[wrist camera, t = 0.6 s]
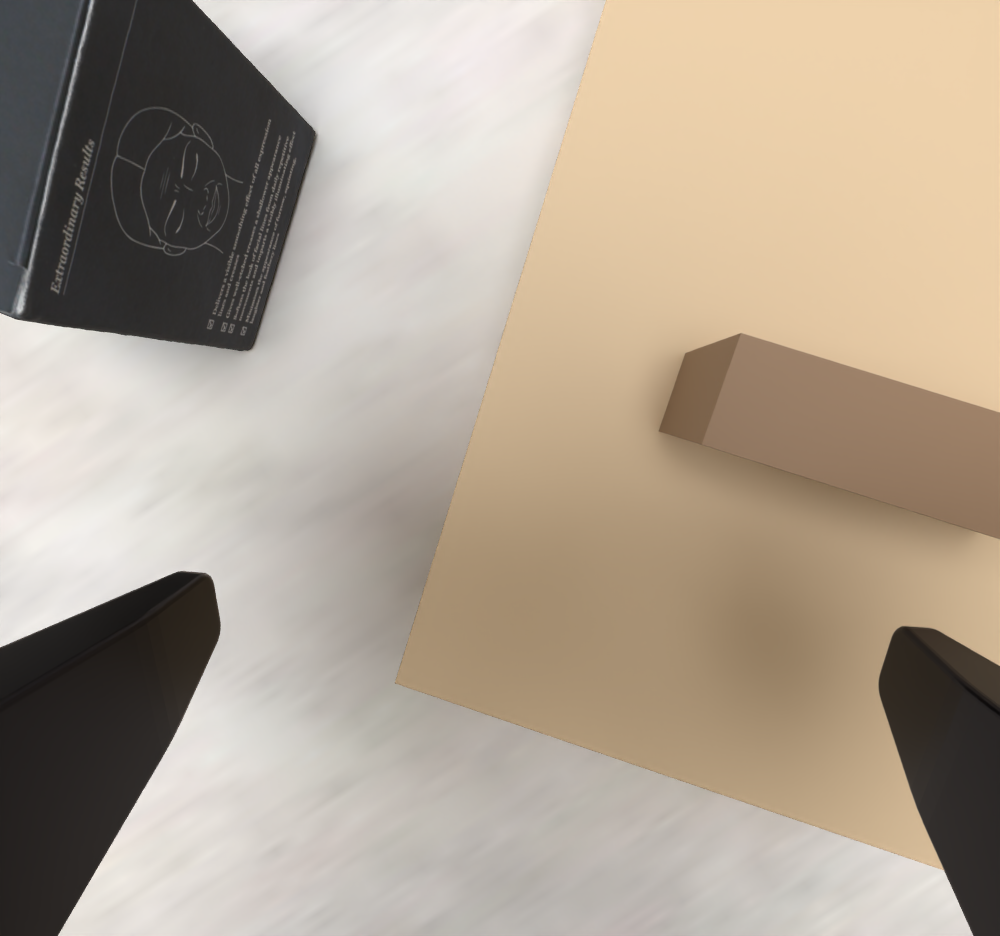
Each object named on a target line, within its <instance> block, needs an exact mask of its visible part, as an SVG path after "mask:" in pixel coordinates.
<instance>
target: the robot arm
mask: <svg viewBox="0 0 1000 936" xmlns="http://www.w3.org/2000/svg"><path fill="white" fill-rule="evenodd" d="M220 627H221V624H220V617H219V611H218V605H217V599H216V593H215V587H214V583H213V580H212V578H211V577H210V576H209V575H208V574H207V573H199V572H186V571H180V572H176V573H173V574H171V575H168V576H166V577H164V578H161V579H159V580H157V581H154V582H152V583H150V584H147V585H145V586H143V587H140V588H138V589H136V590H133V591H131V592H129V593H126V594H124V595H122V596H119V597H117V598H115V599H112V600H110V601H108V602H105V603H103V604H101V605H98V606H96V607H94V608H91V609H89V610H87V611H84V612H82V613H80V614H77V615H75V616H73V617H70V618H68V619H66V620H63V621H61V622H59V623H56V624H54V625H52V626H49V627H47V628H45V629H42V630H40V631H38V632H35V633H33V634H31V635H28V636H26V637H24V638H21V639H19V640H17V641H14V642H12V643H10V644H7V645H5V646H3V647H0V936H58V934H59V933H60V931H61V929H62V928H63V926H64V924H65V922H66V921H67V919H68V917H69V916H70V914H71V912H72V911H73V909H74V907H75V905H76V904H77V902H78V900H79V899H80V897H81V895H82V893H83V892H84V890H85V888H86V887H87V885H88V883H89V882H90V880H91V878H92V876H93V875H94V873H95V871H96V870H97V868H98V866H99V865H100V863H101V861H102V859H103V858H104V856H105V854H106V853H107V851H108V849H109V847H110V846H111V844H112V842H113V841H114V839H115V837H116V836H117V834H118V832H119V830H120V829H121V827H122V825H123V824H124V822H125V820H126V819H127V817H128V815H129V813H130V812H131V810H132V808H133V807H134V805H135V803H136V801H137V800H138V798H139V796H140V795H141V793H142V791H143V790H144V788H145V786H146V784H147V783H148V781H149V779H150V778H151V776H152V774H153V773H154V771H155V769H156V767H157V766H158V764H159V762H160V761H161V759H162V757H163V755H164V754H165V752H166V750H167V748H168V747H169V745H170V743H171V741H172V739H173V737H174V735H175V733H176V731H177V729H178V727H179V725H180V723H181V721H182V719H183V717H184V714H185V712H186V710H187V708H188V706H189V703H190V701H191V699H192V697H193V695H194V692H195V690H196V688H197V686H198V684H199V681H200V679H201V677H202V675H203V673H204V670H205V668H206V666H207V664H208V662H209V659H210V657H211V655H212V653H213V651H214V648H215V646H216V644H217V641H218V639H219V635H220ZM878 688H879V695H880V699H881V702H882V705H883V708H884V711H885V714H886V717H887V720H888V723H889V726H890V729H891V732H892V735H893V738H894V741H895V745H896V748H897V751H898V754H899V757H900V760H901V763H902V766H903V769H904V772H905V775H906V778H907V781H908V784H909V787H910V790H911V793H912V796H913V799H914V801H915V804H916V807H917V810H918V812H919V814H920V817H921V819H922V822H923V824H924V826H925V829H926V831H927V833H928V835H929V838H930V840H931V842H932V844H933V847H934V849H935V851H936V853H937V855H938V858H939V860H940V862H941V864H942V867H943V869H944V871H945V873H946V875H947V878H948V880H949V882H950V884H951V887H952V889H953V891H954V893H955V896H956V898H957V900H958V902H959V904H960V907H961V909H962V911H963V913H964V916H965V918H966V920H967V922H968V924H969V927H970V929H971V931H972V933H973V936H1000V666H999V665H997V664H996V663H994V662H992V661H990V660H989V659H987V658H985V657H983V656H982V655H980V654H978V653H976V652H975V651H973V650H971V649H969V648H968V647H966V646H964V645H962V644H961V643H959V642H957V641H955V640H954V639H952V638H950V637H949V636H947V635H945V634H943V633H942V632H940V631H938V630H936V629H933V628H926V627H912V626H901V627H899V628H897V629H896V630H895V632H894V633H893V635H892V637H891V641H890V644H889V647H888V650H887V653H886V656H885V659H884V663H883V666H882V669H881V672H880V676H879V682H878Z"/></svg>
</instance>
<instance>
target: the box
mask: <svg viewBox="0 0 1000 936" xmlns="http://www.w3.org/2000/svg"><path fill="white" fill-rule="evenodd" d="M314 136H315V131H314V130H313V128H312V127H311V126H310V125H309V124H308V123H307V122H306V121H305V120H304V119H303V118H302V117H301V116H300V114H299V113H298V112H297V111H296V110H295V109H294V108H293V107H292V105H290V104H289V103H288V101H286V100H285V99H284V97H283V96H282V95H281V94H280V93H279V92H278V91H277V90H276V89H275V87H274V86H273V85H272V84H271V83H270V82H269V81H268V80H267V79H266V78H265V77H264V76H263V75H262V74H261V73H260V72H259V71H258V70H257V69H256V67H255V66H254V65H253V64H252V63H251V62H250V61H249V60H248V59H247V58H246V57H245V56H244V55H243V54H242V53H241V52H240V50H239V49H238V48H236V47H235V45H234V44H233V43H232V42H231V41H230V40H229V39H228V38H227V37H226V35H225V34H224V33H223V32H222V31H221V30H220V29H219V28H218V27H217V26H216V25H215V24H214V23H213V22H212V21H211V19H210V18H208V17H207V16H206V15H205V13H204V12H203V11H202V10H201V9H200V8H199V7H198V6H197V5H196V4H195V3H194V2H193V1H192V0H0V313H2V314H4V315H7V316H9V317H12V318H14V319H17V320H23V321H29V322H36V323H42V324H47V325H55V326H62V327H71V328H80V329H84V330H94V331H99V332H110V333H117V334H121V335H132V336H139V337H145V338H152V339H158V340H166V341H171V342H172V341H174V342H182V343H189V344H197V345H206V346H212V347H218V348H226V349H233V350H238V351H243V350H249V349H250V348H251V347H252V345H253V342H254V339H255V336H256V332H257V329H258V326H259V323H260V319H261V316H262V312H263V309H264V305H265V302H266V299H267V295H268V292H269V289H270V286H271V282H272V279H273V276H274V272H275V269H276V266H277V261H278V258H279V255H280V252H281V248H282V245H283V241H284V238H285V235H286V232H287V228H288V225H289V222H290V218H291V214H292V211H293V208H294V204H295V201H296V197H297V194H298V191H299V187H300V184H301V180H302V177H303V173H304V170H305V167H306V164H307V160H308V157H309V154H310V150H311V146H312V143H313V139H314Z"/></svg>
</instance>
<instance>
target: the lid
mask: <svg viewBox="0 0 1000 936" xmlns="http://www.w3.org/2000/svg"><path fill="white" fill-rule="evenodd" d="M901 626H912V627H926V628H933V629H936V630H938V631H940V632H942V633H943V634H945V635H947V636H949V637H950V638H952V639H954V640H955V641H957V642H959V643H961V644H962V645H964V646H966V647H968V648H969V649H971V650H973V651H975V652H976V653H978V654H980V655H982V656H983V657H985V658H987V659H989V660H990V661H992V662H994V663H996V664H997V665H999V666H1000V0H606V2H605V5H604V9H603V12H602V15H601V18H600V22H599V25H598V28H597V31H596V34H595V38H594V41H593V44H592V47H591V51H590V54H589V57H588V60H587V64H586V67H585V70H584V73H583V76H582V80H581V83H580V86H579V89H578V93H577V96H576V99H575V102H574V106H573V109H572V112H571V115H570V118H569V122H568V125H567V128H566V131H565V135H564V138H563V141H562V144H561V148H560V151H559V154H558V157H557V161H556V164H555V167H554V170H553V173H552V177H551V180H550V183H549V186H548V190H547V193H546V196H545V199H544V203H543V206H542V209H541V212H540V215H539V219H538V222H537V225H536V228H535V232H534V235H533V238H532V241H531V245H530V248H529V251H528V254H527V257H526V261H525V264H524V267H523V270H522V274H521V277H520V280H519V283H518V287H517V290H516V293H515V296H514V299H513V303H512V306H511V309H510V312H509V316H508V319H507V322H506V325H505V329H504V332H503V335H502V338H501V341H500V345H499V348H498V351H497V354H496V358H495V361H494V364H493V367H492V371H491V374H490V377H489V380H488V383H487V387H486V390H485V393H484V396H483V400H482V403H481V406H480V409H479V413H478V416H477V419H476V422H475V425H474V429H473V432H472V435H471V438H470V442H469V445H468V448H467V451H466V455H465V458H464V461H463V464H462V467H461V471H460V474H459V477H458V480H457V484H456V487H455V490H454V493H453V497H452V500H451V503H450V506H449V509H448V513H447V516H446V519H445V522H444V526H443V529H442V532H441V535H440V539H439V542H438V545H437V548H436V552H435V555H434V558H433V561H432V564H431V568H430V571H429V574H428V577H427V581H426V584H425V587H424V590H423V594H422V597H421V600H420V603H419V606H418V610H417V613H416V616H415V619H414V623H413V626H412V629H411V632H410V636H409V639H408V642H407V645H406V648H405V652H404V655H403V658H402V661H401V665H400V668H399V671H398V674H397V678H396V681H395V683H396V684H399V685H402V686H404V687H407V688H410V689H413V690H416V691H419V692H422V693H425V694H428V695H431V696H434V697H437V698H440V699H443V700H446V701H449V702H451V703H454V704H457V705H460V706H463V707H466V708H469V709H472V710H475V711H478V712H481V713H484V714H487V715H490V716H493V717H495V718H498V719H501V720H504V721H507V722H510V723H513V724H516V725H519V726H522V727H525V728H528V729H531V730H534V731H537V732H539V733H542V734H545V735H548V736H551V737H554V738H557V739H560V740H563V741H566V742H569V743H572V744H575V745H578V746H581V747H583V748H586V749H589V750H592V751H595V752H598V753H601V754H604V755H607V756H610V757H613V758H616V759H619V760H622V761H625V762H628V763H630V764H633V765H636V766H639V767H642V768H645V769H648V770H651V771H654V772H657V773H660V774H663V775H666V776H669V777H672V778H674V779H677V780H680V781H683V782H686V783H689V784H692V785H695V786H698V787H701V788H704V789H707V790H710V791H713V792H716V793H718V794H721V795H724V796H727V797H730V798H733V799H736V800H739V801H742V802H745V803H748V804H751V805H754V806H757V807H760V808H763V809H765V810H768V811H771V812H774V813H777V814H780V815H783V816H786V817H789V818H792V819H795V820H798V821H801V822H804V823H807V824H809V825H812V826H815V827H818V828H821V829H824V830H827V831H830V832H833V833H836V834H839V835H842V836H845V837H848V838H851V839H853V840H856V841H859V842H862V843H865V844H868V845H871V846H874V847H877V848H880V849H883V850H886V851H889V852H892V853H895V854H898V855H900V856H903V857H906V858H909V859H912V860H915V861H918V862H921V863H924V864H927V865H930V866H933V867H936V868H939V869H942V870H944V869H943V867H942V864H941V862H940V860H939V858H938V855H937V853H936V851H935V849H934V847H933V844H932V842H931V840H930V838H929V835H928V833H927V831H926V829H925V826H924V824H923V822H922V819H921V817H920V814H919V812H918V810H917V807H916V804H915V801H914V799H913V796H912V793H911V790H910V787H909V784H908V781H907V778H906V775H905V772H904V769H903V766H902V763H901V760H900V757H899V754H898V751H897V748H896V745H895V741H894V738H893V735H892V732H891V729H890V726H889V723H888V720H887V717H886V714H885V711H884V708H883V705H882V702H881V699H880V695H879V688H878V682H879V676H880V672H881V669H882V666H883V663H884V659H885V656H886V653H887V650H888V647H889V644H890V641H891V637H892V635H893V633H894V632H895V630H896V629H897V628H899V627H901Z"/></svg>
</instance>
